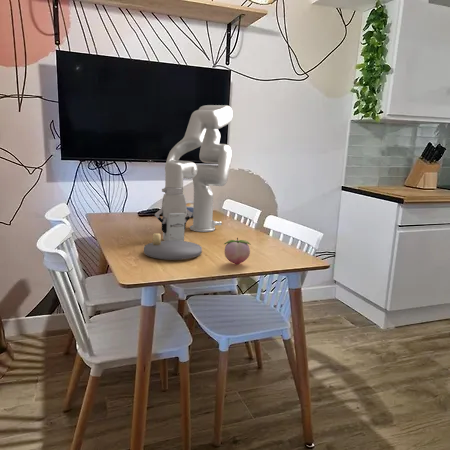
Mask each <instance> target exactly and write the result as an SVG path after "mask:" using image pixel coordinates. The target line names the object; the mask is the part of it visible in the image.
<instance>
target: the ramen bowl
mask: <svg viewBox="0 0 450 450" xmlns="http://www.w3.org/2000/svg"><path fill="white" fill-rule="evenodd" d="M193 206H194V200H186V208H187V209H188V210H189V211H190V212H192V215H191V217H190V218H193ZM187 215H188V213H187ZM187 215H186V216H187Z"/></svg>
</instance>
